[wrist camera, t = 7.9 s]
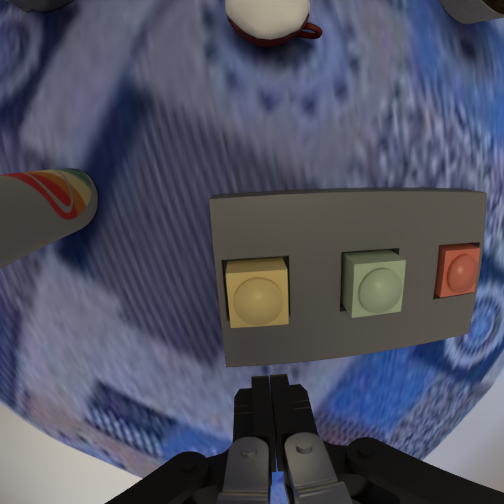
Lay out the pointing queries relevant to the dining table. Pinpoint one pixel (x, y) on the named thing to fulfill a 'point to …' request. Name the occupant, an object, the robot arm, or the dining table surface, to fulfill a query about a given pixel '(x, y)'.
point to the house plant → (474, 10)
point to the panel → (330, 266)
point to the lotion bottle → (42, 209)
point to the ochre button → (257, 292)
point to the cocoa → (270, 20)
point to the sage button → (372, 282)
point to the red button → (456, 269)
